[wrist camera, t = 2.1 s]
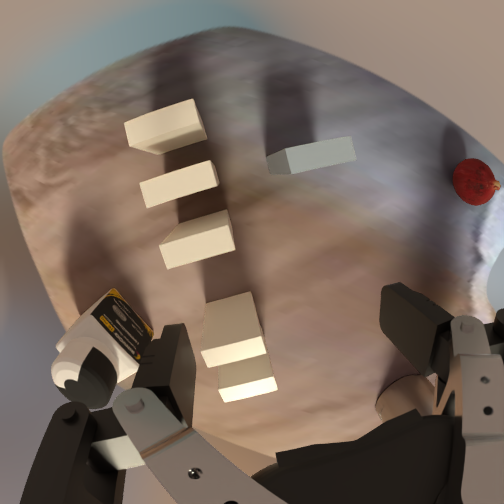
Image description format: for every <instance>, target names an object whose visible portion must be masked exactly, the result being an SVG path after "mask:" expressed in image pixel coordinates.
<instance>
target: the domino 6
mask: <svg viewBox="0 0 504 504" xmlns="http://www.w3.org/2000/svg"><path fill="white" fill-rule="evenodd" d="M266 159H267V163H268V167H269V171H270V174H295V173H299V172H303V171H308V170H312V169H316V168H321V167H326V166H330V165H335V164H340V163H344V162H349V161H354V160H356V156H355V151H354V147H353V143H352V139H351V136H348V137H342V138H336V139H330V140H325V141H319V142H314V143H309V144H304V145H299V146H295V147H290V148H286V149H283V150H281V151H278V152H276V153H274V154H271V155H269V156H267V157H266Z"/></svg>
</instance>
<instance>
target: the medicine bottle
mask: <svg viewBox="0 0 504 504" xmlns="http://www.w3.org/2000/svg"><path fill="white" fill-rule="evenodd" d="M153 335H154V332H153V331H152V330H151V329H150V327H149V326H148V325H147V324H146V323H145V322H144V321H143V320H142V319H141V318H140V317H139V315H138V314H137V313H136V312H135V311H134V310H133V309H132V308H131V306H130V305H129V304H128V303H127V302H126V301H125V300H124V298H123V297H122V296H121V295H120V294H119V293H118V291H117V290H116V289H115V288H112V289H111V290H109V291H108V292H107V293H106V294H105V295H104V296H102V297H101V298H100V299H99V300H98V301H97V302H96V303H94V304H93V305H92V306H91V307H90V308H89V309H88V310H87V311H85V312H84V313H83V314H82V315H81V316H80V317H79V318H78V319H77V320H76V321H75V323H74V324H73V325H72V326H71V327H70V328H69V330H68V331H67V332H66V333H65V334H64V335H63V337H62V338H61V339H60V340H59V341H58V343H57V344H56V348H57V350H58V351H59V352H60V354H59V355H58V357H57V358H56V359H55V361H54V362H53V364H52V367H51V373H52V377H53V380H54V383H55V385H56V387H57V388H58V389H59V391H60V392H61V393H62V394H63V395H64V396H65V397H67V399H69V400H70V401H71V402H74V401H77V402H82V403H84V404H85V405H86V406H87V407H88V409H98V408H102V407H104V406H106V405H107V404H108V402H109V400H110V398H111V395H112V393H113V391H114V388H115V386H116V384H117V383H119V382H120V381H122V380H124V379H125V378H127V377H129V376H130V375H132V374H134V373H135V372H137V370H138V368H139V365H140V362H141V359H142V358H143V354H144V351H145V348H146V347H147V346H148V345H149V344H150V343H151V340H152V338H153Z"/></svg>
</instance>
